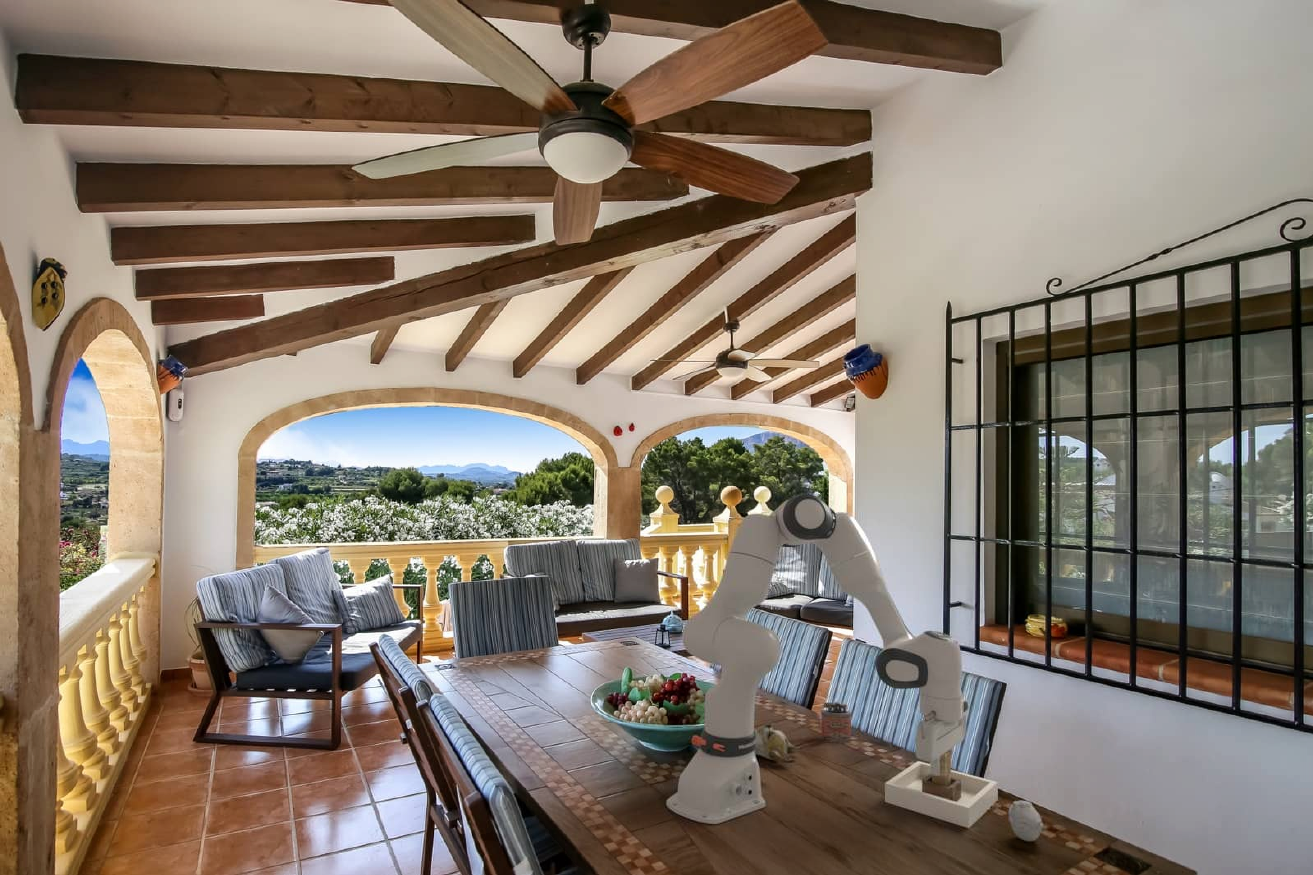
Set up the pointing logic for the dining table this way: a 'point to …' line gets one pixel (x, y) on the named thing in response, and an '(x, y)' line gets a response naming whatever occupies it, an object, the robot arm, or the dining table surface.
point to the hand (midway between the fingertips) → (941, 770)
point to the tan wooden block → (944, 770)
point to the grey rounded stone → (1025, 820)
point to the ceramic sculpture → (774, 745)
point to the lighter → (836, 723)
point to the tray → (942, 794)
